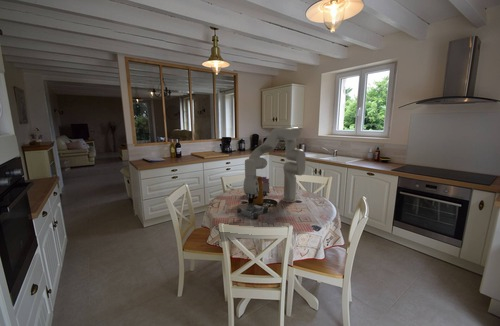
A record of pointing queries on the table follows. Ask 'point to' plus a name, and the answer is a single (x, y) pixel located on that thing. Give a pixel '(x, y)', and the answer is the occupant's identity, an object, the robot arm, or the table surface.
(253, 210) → the engine block
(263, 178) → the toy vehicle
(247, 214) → the chassis
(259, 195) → the coffee package
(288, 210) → the table surface
